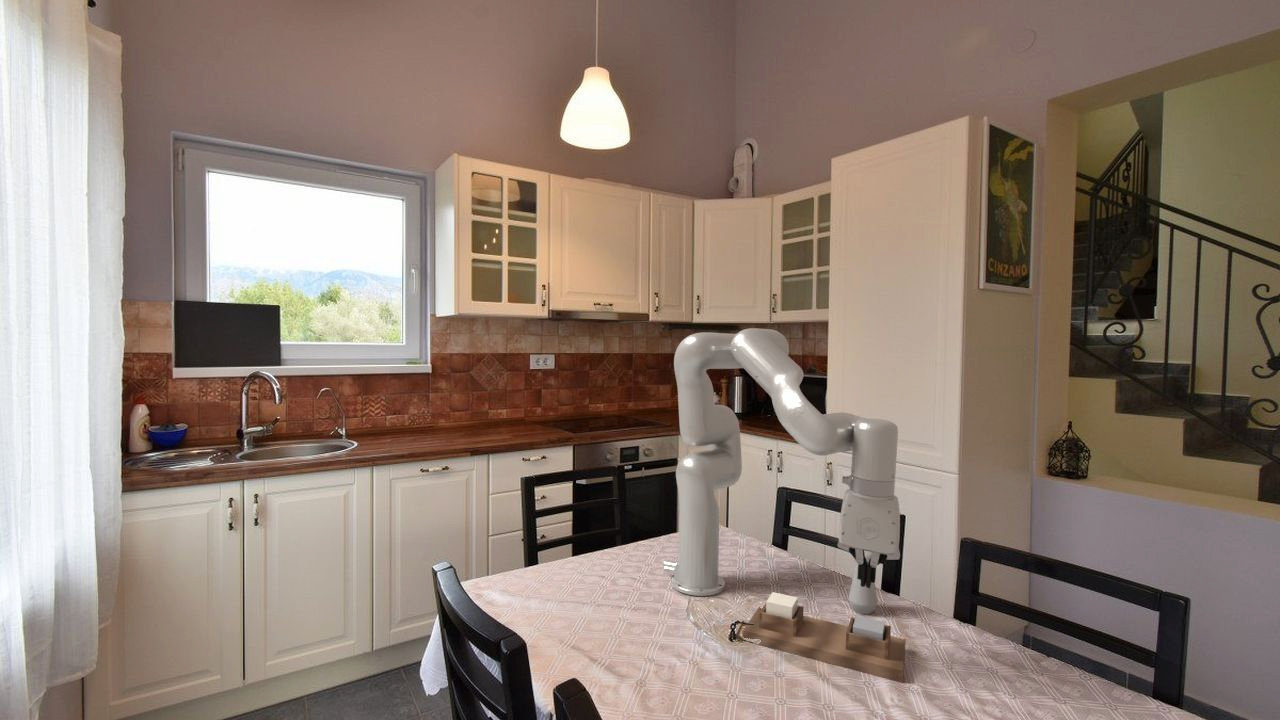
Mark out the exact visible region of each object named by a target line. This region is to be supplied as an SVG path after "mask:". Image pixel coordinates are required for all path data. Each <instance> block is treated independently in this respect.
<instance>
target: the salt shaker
mask: <svg viewBox="0 0 1280 720" xmlns="http://www.w3.org/2000/svg"><path fill="white" fill-rule="evenodd" d="M864 552H865V558H866V560H867V562H869V560H870V559H871V558H872V553H873V552H870V551H865V550H864ZM853 560H854V562H856V563H855V568H854V574H853V576H852V581H851V585H850V590H849V595H848V600H849V603H850V605H851V608H852V611H854V612H855V613H858V614H860V615H868V616H869V615H870V614H872V612H873V613H874V611H875V610H876V607H877V605H878V601H879V600H878V594H877V589H876V588H877V587H876V584H875V583H876V582H875V583H872V582H871V586H870V588H867V587H866V584H865V586H864V587H862V586H861V580H859V579H857V576H858V563H857V561H856V560H855V558H854V557H853ZM867 565H868V564H867Z"/></svg>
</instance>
